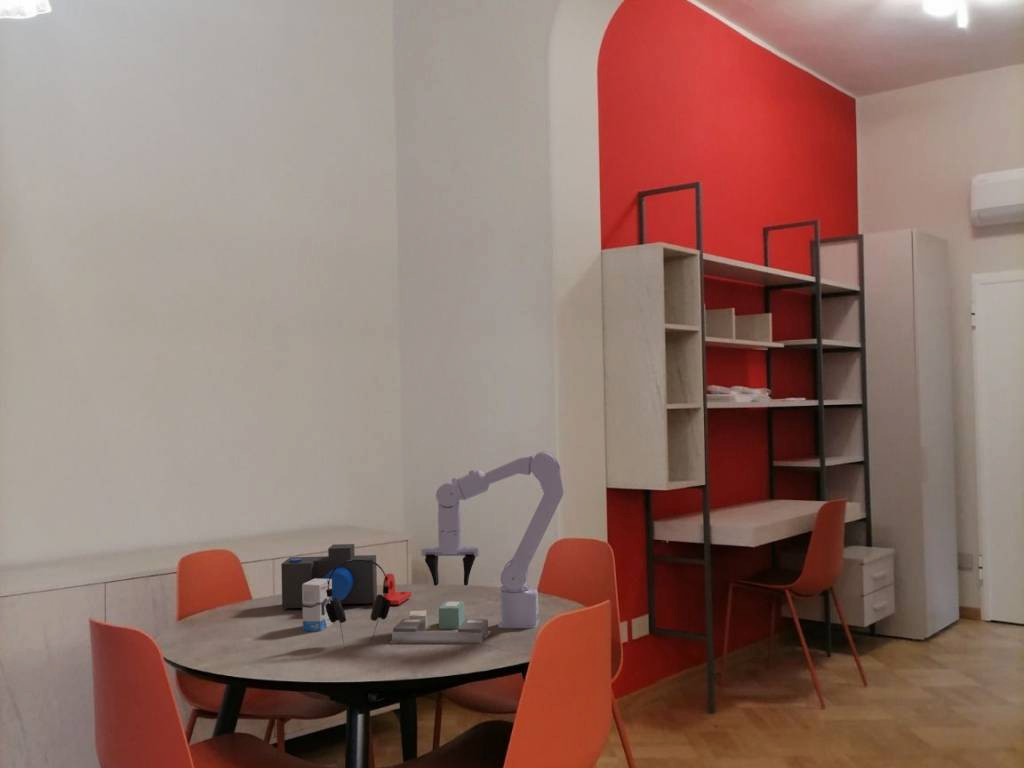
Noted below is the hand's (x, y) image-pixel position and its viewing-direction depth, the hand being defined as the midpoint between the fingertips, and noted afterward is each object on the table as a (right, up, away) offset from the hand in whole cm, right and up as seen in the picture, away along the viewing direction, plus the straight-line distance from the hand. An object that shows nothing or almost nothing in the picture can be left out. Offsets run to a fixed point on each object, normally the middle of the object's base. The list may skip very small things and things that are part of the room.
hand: (451, 584), depth 236 cm
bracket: (-17, -12, +34) cm, 40 cm away
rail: (-2, -10, -18) cm, 21 cm away
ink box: (-34, -12, +2) cm, 36 cm away
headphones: (-21, -11, -14) cm, 28 cm away
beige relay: (-8, -11, -2) cm, 14 cm away
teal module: (0, -11, 0) cm, 10 cm away
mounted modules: (-2, -10, -13) cm, 17 cm away
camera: (-36, -12, +29) cm, 48 cm away
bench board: (-2, -10, -13) cm, 17 cm away
